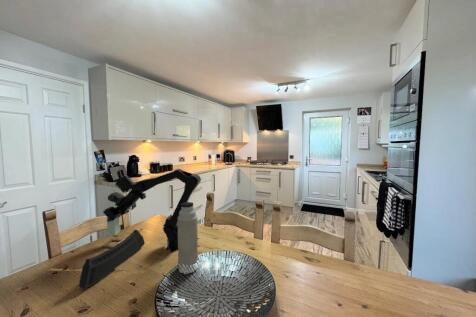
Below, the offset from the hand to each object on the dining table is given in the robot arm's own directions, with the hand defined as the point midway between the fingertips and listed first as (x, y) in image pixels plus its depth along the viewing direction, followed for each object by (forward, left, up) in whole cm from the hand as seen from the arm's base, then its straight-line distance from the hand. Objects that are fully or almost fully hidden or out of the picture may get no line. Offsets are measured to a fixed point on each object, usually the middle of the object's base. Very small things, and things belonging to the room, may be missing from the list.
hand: (110, 219), depth 101 cm
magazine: (0, +22, -14) cm, 26 cm away
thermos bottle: (-24, +41, -14) cm, 50 cm away
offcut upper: (-6, +5, -13) cm, 15 cm away
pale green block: (-1, +1, -7) cm, 7 cm away
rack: (-1, +1, -13) cm, 14 cm away
